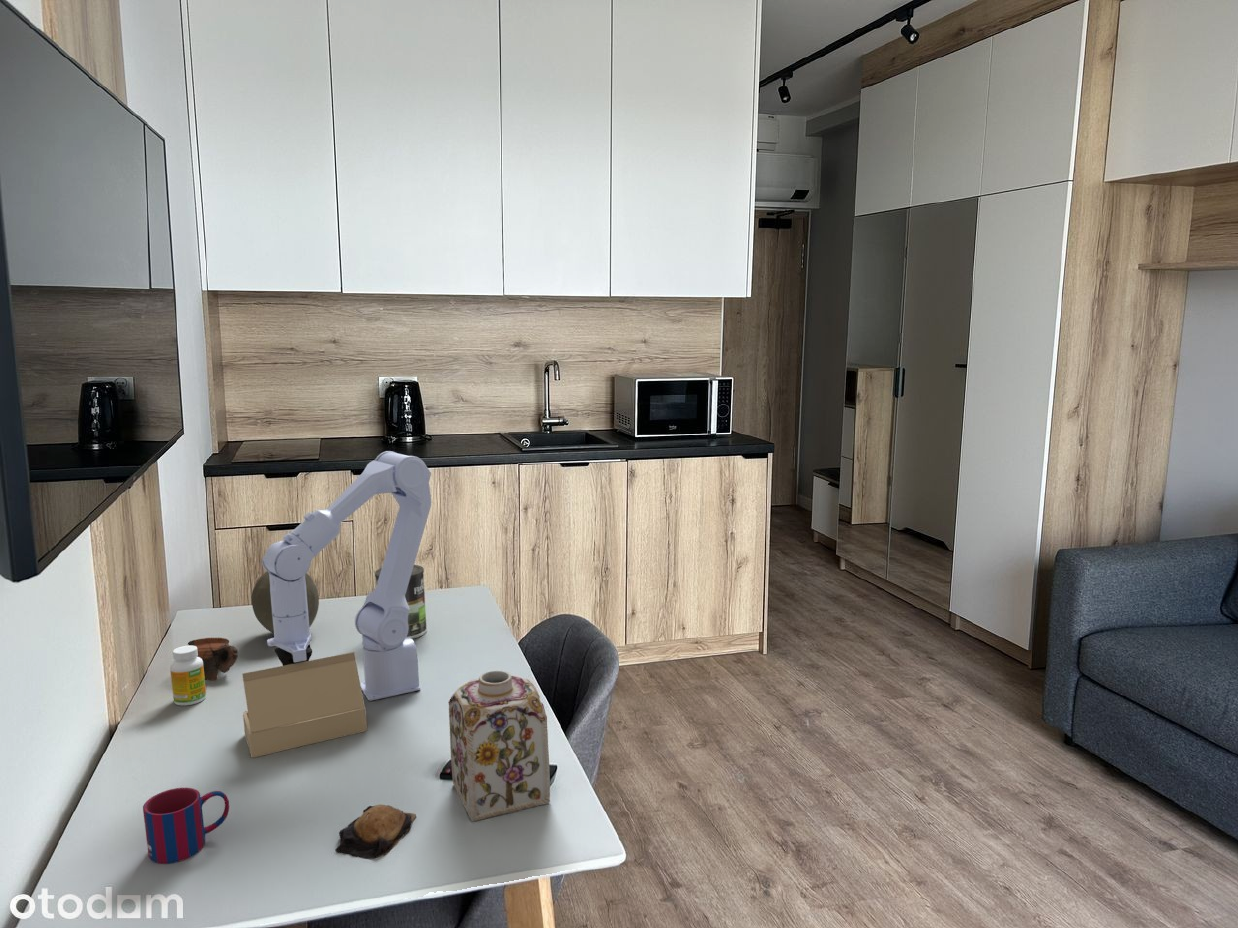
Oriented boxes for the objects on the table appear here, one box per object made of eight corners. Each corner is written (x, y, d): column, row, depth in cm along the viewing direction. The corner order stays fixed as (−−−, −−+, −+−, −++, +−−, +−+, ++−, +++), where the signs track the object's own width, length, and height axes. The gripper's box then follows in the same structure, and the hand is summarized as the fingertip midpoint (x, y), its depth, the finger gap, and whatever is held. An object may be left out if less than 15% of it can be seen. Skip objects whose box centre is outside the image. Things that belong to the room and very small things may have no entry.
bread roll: (368, 812, 126) (366, 788, 125) (422, 819, 124) (421, 794, 123) (325, 856, 116) (323, 830, 115) (384, 864, 114) (382, 838, 113)
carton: (354, 710, 157) (353, 688, 156) (367, 730, 149) (365, 708, 149) (244, 734, 149) (242, 712, 148) (251, 757, 141) (249, 734, 140)
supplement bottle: (193, 707, 159) (188, 655, 158) (167, 705, 160) (161, 653, 159) (212, 694, 165) (207, 644, 163) (187, 692, 166) (181, 642, 164)
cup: (148, 842, 119) (143, 795, 117) (230, 821, 123) (225, 776, 122) (148, 869, 113) (142, 820, 112) (234, 847, 117) (229, 799, 116)
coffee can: (431, 624, 200) (428, 563, 198) (421, 640, 190) (417, 577, 187) (386, 624, 200) (382, 563, 198) (372, 641, 190) (368, 577, 188)
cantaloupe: (334, 625, 200) (329, 560, 198) (298, 648, 187) (292, 579, 184) (278, 621, 203) (273, 557, 201) (239, 644, 190) (232, 576, 187)
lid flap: (353, 652, 152) (354, 651, 151) (364, 707, 149) (364, 706, 148) (242, 674, 144) (242, 673, 143) (250, 733, 140) (251, 732, 140)
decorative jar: (451, 783, 132) (445, 668, 129) (526, 766, 137) (522, 655, 134) (471, 824, 121) (464, 700, 118) (552, 805, 126) (548, 684, 123)
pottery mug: (170, 685, 171) (172, 641, 173) (207, 688, 179) (208, 646, 182) (221, 674, 167) (222, 631, 170) (256, 678, 176) (257, 636, 179)
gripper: (259, 604, 156) (266, 677, 158) (271, 629, 143) (278, 708, 146) (301, 597, 159) (307, 669, 162) (316, 621, 147) (322, 699, 149)
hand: (296, 687), depth 154 cm, fingers closed
